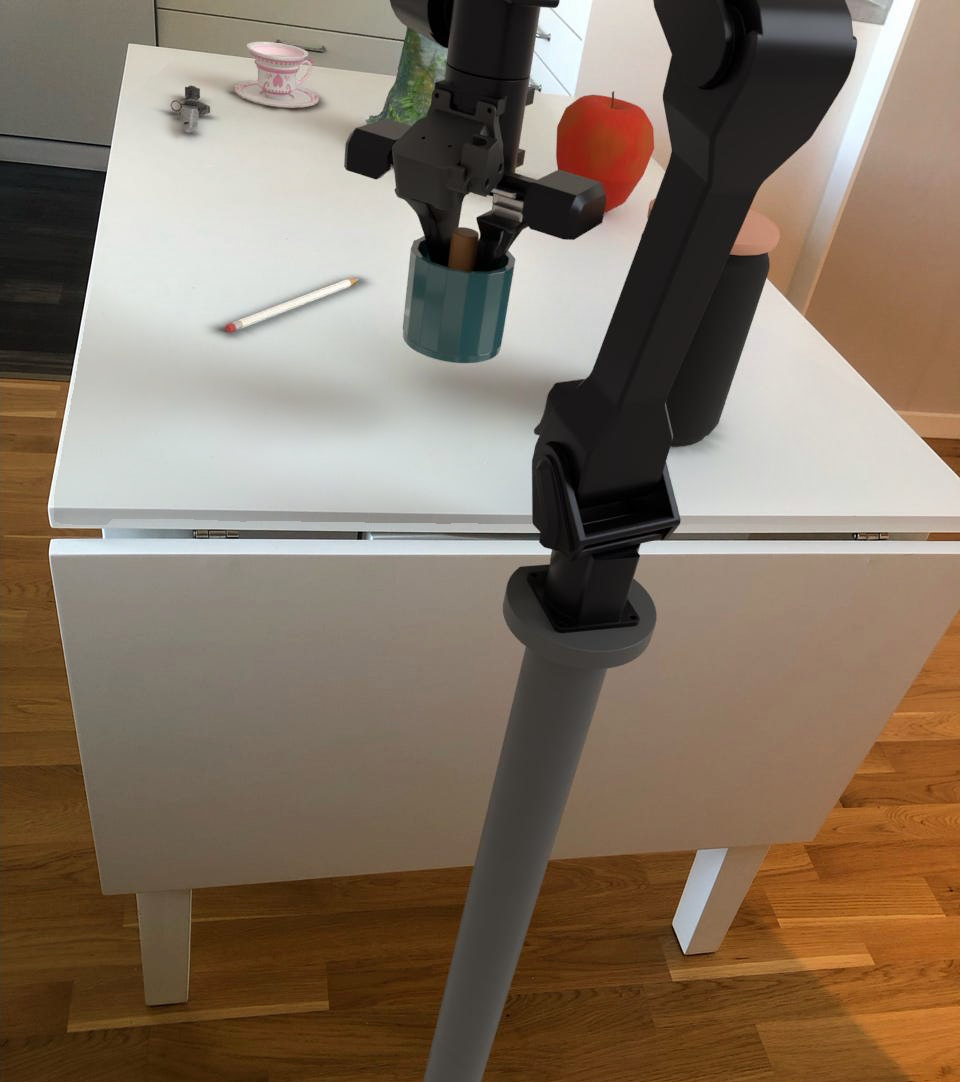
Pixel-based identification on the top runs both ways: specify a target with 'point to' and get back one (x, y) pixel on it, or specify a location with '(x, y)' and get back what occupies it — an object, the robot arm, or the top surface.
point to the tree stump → (414, 80)
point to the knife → (191, 108)
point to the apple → (605, 144)
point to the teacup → (278, 76)
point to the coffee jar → (721, 334)
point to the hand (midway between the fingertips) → (458, 292)
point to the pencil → (289, 305)
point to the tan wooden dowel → (463, 249)
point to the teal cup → (455, 308)
